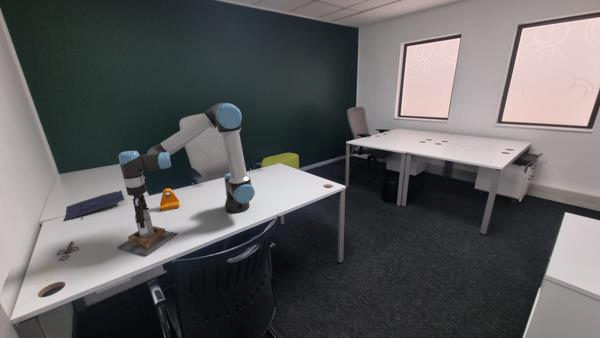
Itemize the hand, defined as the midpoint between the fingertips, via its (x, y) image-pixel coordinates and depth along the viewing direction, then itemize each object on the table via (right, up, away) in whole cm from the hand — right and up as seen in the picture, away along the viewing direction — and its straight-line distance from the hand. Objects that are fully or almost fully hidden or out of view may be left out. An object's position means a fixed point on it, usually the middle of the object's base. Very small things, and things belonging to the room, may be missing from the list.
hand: (145, 227), depth 118 cm
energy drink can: (0, -6, +2) cm, 7 cm away
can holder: (0, -7, +2) cm, 8 cm away
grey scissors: (-34, -10, -3) cm, 36 cm away
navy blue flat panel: (-57, +4, +39) cm, 69 cm away
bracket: (-8, +4, +37) cm, 38 cm away
